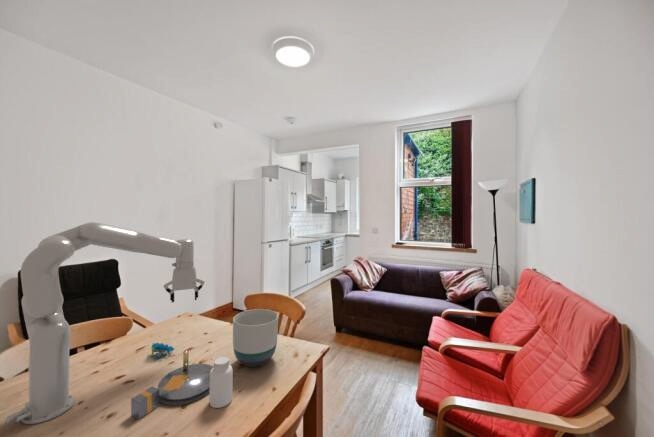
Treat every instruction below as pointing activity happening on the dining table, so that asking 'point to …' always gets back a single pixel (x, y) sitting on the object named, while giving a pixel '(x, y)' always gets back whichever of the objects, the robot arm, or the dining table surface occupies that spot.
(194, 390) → the turntable
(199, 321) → the dining table surface
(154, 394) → the link block
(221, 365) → the pill bottle
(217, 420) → the dining table surface
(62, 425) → the dining table surface
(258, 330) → the planter
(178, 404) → the base plate
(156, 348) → the blue green toy
